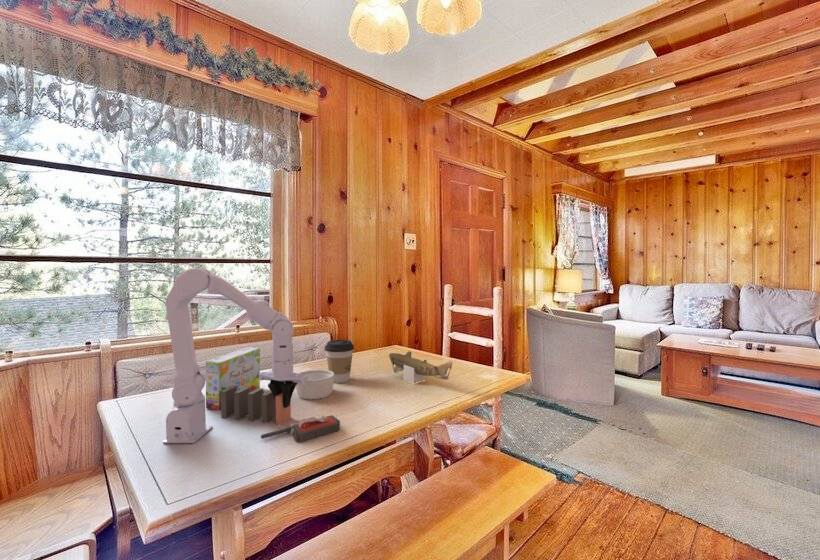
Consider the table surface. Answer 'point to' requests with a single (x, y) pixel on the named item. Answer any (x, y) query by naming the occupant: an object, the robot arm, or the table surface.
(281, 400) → the red domino
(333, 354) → the coffee cup
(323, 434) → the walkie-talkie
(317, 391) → the ramekin
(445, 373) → the wood carving
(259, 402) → the domino
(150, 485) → the table surface
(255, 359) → the snack box
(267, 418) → the domino
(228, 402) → the domino
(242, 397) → the domino
